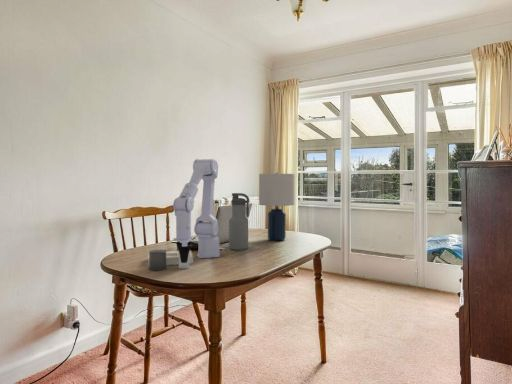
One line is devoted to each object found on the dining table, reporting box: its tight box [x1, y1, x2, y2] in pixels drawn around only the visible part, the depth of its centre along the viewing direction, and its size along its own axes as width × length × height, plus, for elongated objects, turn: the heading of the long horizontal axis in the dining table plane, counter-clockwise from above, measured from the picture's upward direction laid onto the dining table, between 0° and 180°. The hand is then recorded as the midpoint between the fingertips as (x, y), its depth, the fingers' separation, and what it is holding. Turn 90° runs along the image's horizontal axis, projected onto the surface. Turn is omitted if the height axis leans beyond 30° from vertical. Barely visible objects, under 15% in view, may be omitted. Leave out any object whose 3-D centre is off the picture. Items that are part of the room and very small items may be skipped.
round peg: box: [148, 249, 167, 272], centre depth 133 cm, size 6×6×7 cm
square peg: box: [177, 249, 191, 270], centre depth 136 cm, size 4×4×7 cm
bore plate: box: [147, 249, 194, 267], centre depth 145 cm, size 18×12×3 cm, turn 105°
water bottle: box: [228, 192, 250, 251], centre depth 172 cm, size 10×10×28 cm
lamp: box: [258, 172, 296, 242], centre depth 196 cm, size 20×20×39 cm
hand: (183, 261), depth 136 cm, fingers closed on square peg, 4 cm apart
